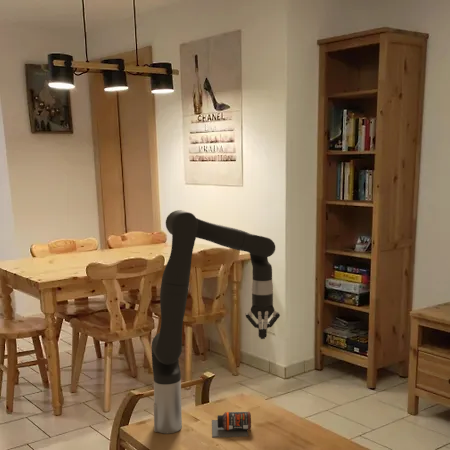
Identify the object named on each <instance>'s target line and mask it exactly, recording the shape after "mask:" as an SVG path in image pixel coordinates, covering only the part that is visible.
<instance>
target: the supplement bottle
mask: <svg viewBox="0 0 450 450" xmlns="http://www.w3.org/2000/svg"><path fill="white" fill-rule="evenodd" d="M216 417H217V419H216V420H217V423H218V428H221V427H222V428H224V430H227V431H229V430H230V431H231V430H248V431H250V430H251V429H252V417H251V412H250V411H226V412H224V413H223V414H222V415H221V414H218V415H217V416H216Z"/></svg>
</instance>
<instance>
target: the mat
mask: <svg viewBox="0 0 450 450" xmlns="http://www.w3.org/2000/svg"><path fill="white" fill-rule="evenodd" d="M248 431H249V430H231V431H230V430H229V431H227V430H224V428H222V427H221V428H218V423H217V419H211V432H212V433H211V435H212V438H214V439H216V438H240V437H241V438H244V437H247V438H248V437H249V432H248Z"/></svg>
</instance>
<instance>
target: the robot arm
mask: <svg viewBox="0 0 450 450" xmlns="http://www.w3.org/2000/svg"><path fill="white" fill-rule="evenodd" d="M165 227H166V230H167V232H168V233H169V234H170V235H171V236H172V237H171V250H170V255H169V257H168V260H167V262H166V265H165V267H164V270H163V272H162V273H163V274H162V277H161V283H160V292H159V303H160V305H159V307H160V317H161V319H160V329H159V332H158V333H156V335H155V336H154V337H153V339H152V342H151V364H152V365H151V367H152V369H151V370H152V375H153V397H154V398H153V400H154V401H153V425H154V426H153V428H154V429H153V431H154V432H155V433H156V432H157V433H161V434H173V433H174V434H175V433H177V432H179V431H181V429H182V428H183V423H182V422H183V418H182V417H183V416H182V410H183V409H182V373H181V372H182V371H181V368H180V361H179V359H180V357H181V354H182V351H183V324H184V317H185V312H186V307H187V301H188V294H189V289H190V288H189V285H190V277H191V269H192V258H193V252H194V248H195V247H194V246H195V242H196V239H201V240H204V241H208V242H211V243H214V244H217V245H218V246H222V247H225V248H229V249H232V250H236V251H241V252H247V253H249V256H250V257H249V258H250V262H251V266H252V282H251V308H250V310H249V311H248V312H246V313H245V318H246V319H247V320H248V321H249V323H251V325H252V327H254V328H257V329H258V337H259V339H260V340H265V339H266V338H267V336H268V335H267V333H268V332H267V330H268V328H272V327H273V326H274V324H275V323H276V322H277V320H279V318H280V316H281V315H280V312H278V311H276V310H275V308H274V285H273V284H274V283H273V267H272V264H271V263H270V262H269V259H268V257H269V258H270V257H271V256H272V255H274V254H275V251H276V244H275V242H274V241H273V240H272V239H271V238H269V237H266V236H262V235H257V234H253V233H251V232H247V231H246V230H245V231H244V230H242V229H238V228H234V227H230V226H226V225H223V224H222V225H221V224H217V223H212V222H208V221H206V220H202V219H200V218H197V217H196V215H195V214H194V213H192V212H189V211H187V210H182V209H179V210H178V209H177V210H174V211H172V212H171V213H169V214H168V215H167V217H166V218H165ZM253 316H254V317H255V319H256V320H257V322H256V321H255V319H254V318H253ZM271 316H272V317H271ZM270 317H271V318H270ZM269 319H270V320H269ZM268 320H269V321H268Z"/></svg>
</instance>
